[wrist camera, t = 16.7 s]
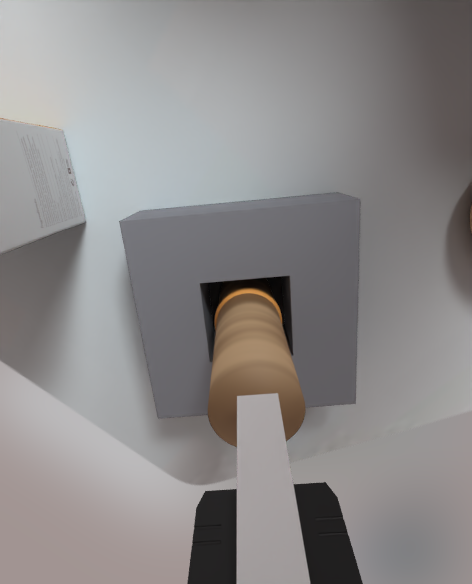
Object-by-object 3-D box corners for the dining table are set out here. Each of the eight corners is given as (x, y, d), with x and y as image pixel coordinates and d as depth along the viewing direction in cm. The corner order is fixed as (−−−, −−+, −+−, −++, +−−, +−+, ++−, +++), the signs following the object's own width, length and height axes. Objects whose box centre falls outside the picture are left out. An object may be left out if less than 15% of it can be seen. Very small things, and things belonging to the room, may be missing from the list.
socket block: (140, 210, 26) (119, 221, 21) (337, 192, 25) (360, 199, 21) (170, 379, 31) (157, 418, 26) (336, 366, 30) (355, 403, 25)
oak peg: (214, 270, 27) (197, 370, 14) (271, 264, 27) (307, 360, 14) (221, 322, 29) (210, 456, 16) (275, 317, 29) (310, 448, 16)
